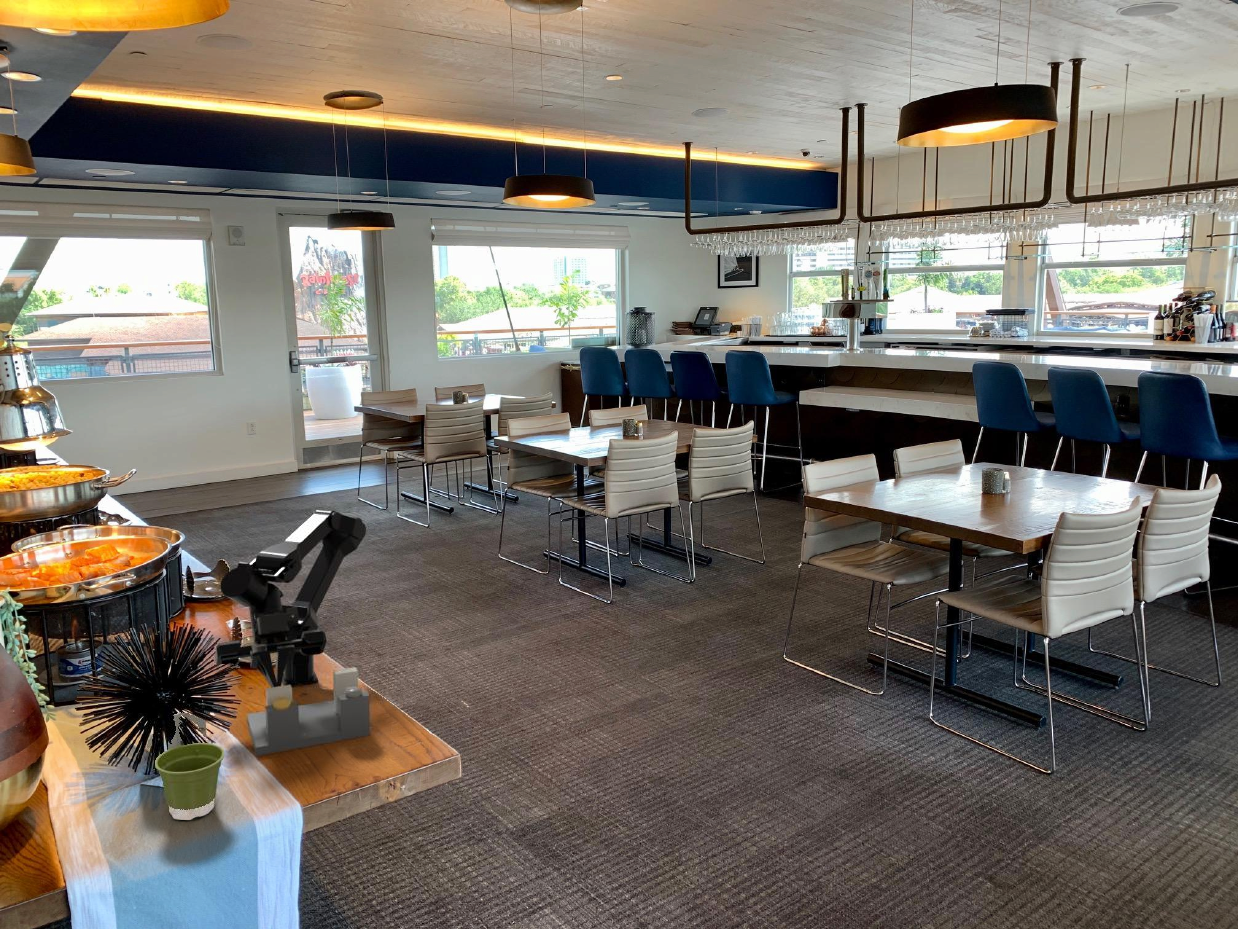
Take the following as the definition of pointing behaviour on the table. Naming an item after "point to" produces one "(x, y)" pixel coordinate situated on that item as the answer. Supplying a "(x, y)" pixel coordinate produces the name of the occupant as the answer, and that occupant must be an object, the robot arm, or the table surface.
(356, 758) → the table surface
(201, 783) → the plant pot
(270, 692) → the tall white block
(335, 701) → the cream upright block
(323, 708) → the grey holder stand
